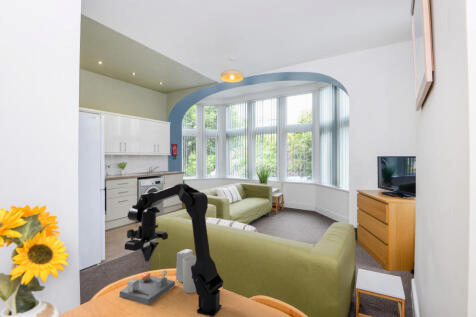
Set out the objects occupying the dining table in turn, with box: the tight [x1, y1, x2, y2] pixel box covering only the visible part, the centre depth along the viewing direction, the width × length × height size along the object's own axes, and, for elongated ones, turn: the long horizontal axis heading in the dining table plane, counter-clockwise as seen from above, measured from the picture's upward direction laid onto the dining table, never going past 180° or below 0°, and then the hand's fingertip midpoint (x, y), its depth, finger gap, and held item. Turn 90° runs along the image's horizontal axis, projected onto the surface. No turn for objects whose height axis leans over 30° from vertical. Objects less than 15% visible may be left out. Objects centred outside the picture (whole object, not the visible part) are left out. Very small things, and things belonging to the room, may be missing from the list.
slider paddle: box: [127, 278, 140, 293], centre depth 83 cm, size 2×3×4 cm
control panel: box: [119, 275, 176, 306], centre depth 86 cm, size 14×14×4 cm
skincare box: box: [175, 248, 194, 283], centre depth 97 cm, size 6×4×12 cm
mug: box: [182, 255, 197, 294], centre depth 90 cm, size 10×7×12 cm, turn 175°
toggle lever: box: [159, 269, 168, 284], centre depth 87 cm, size 2×2×6 cm
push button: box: [141, 272, 151, 280], centre depth 90 cm, size 3×3×2 cm
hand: (147, 261), depth 91 cm, fingers closed
